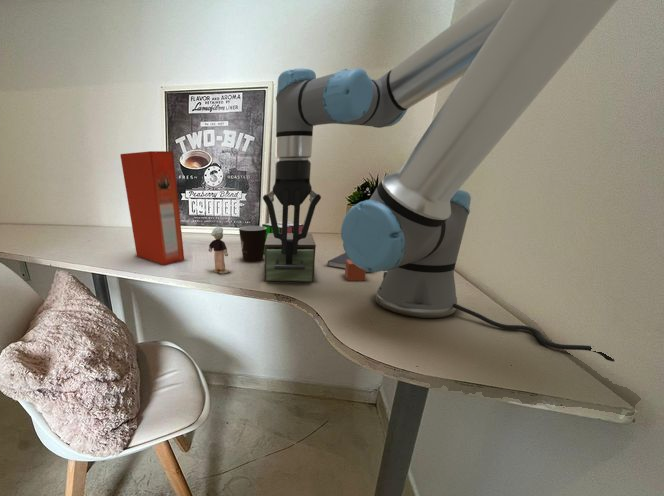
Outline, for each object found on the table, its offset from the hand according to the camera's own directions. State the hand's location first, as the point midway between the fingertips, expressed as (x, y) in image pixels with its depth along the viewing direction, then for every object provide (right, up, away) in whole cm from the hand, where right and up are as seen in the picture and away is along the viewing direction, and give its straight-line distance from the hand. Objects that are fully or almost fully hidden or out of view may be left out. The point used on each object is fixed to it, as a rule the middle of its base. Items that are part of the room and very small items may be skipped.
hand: (288, 267), depth 81 cm
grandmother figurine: (-18, +1, +16) cm, 24 cm away
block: (+18, -2, +8) cm, 20 cm away
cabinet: (+2, 0, +13) cm, 13 cm away
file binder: (-39, +7, +31) cm, 51 cm away
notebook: (+26, +5, +22) cm, 34 cm away
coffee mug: (-8, +7, +29) cm, 30 cm away
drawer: (+1, -1, +8) cm, 8 cm away
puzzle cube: (+2, +9, +33) cm, 35 cm away
